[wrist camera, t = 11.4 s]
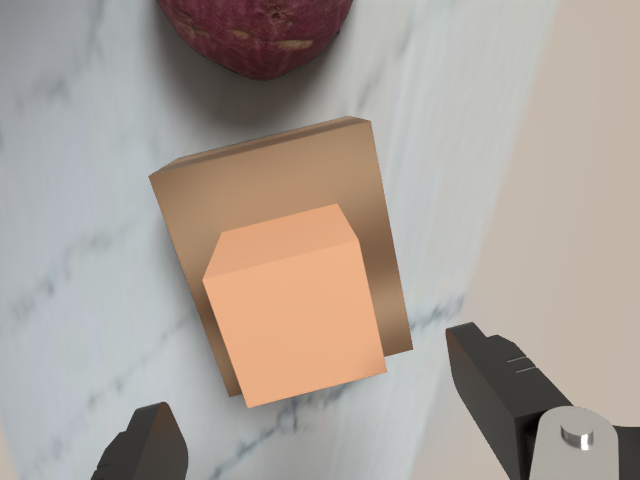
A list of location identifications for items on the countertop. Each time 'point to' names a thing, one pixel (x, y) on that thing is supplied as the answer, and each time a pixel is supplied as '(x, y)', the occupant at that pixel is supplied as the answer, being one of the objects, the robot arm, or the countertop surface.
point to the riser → (284, 211)
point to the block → (294, 305)
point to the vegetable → (257, 31)
